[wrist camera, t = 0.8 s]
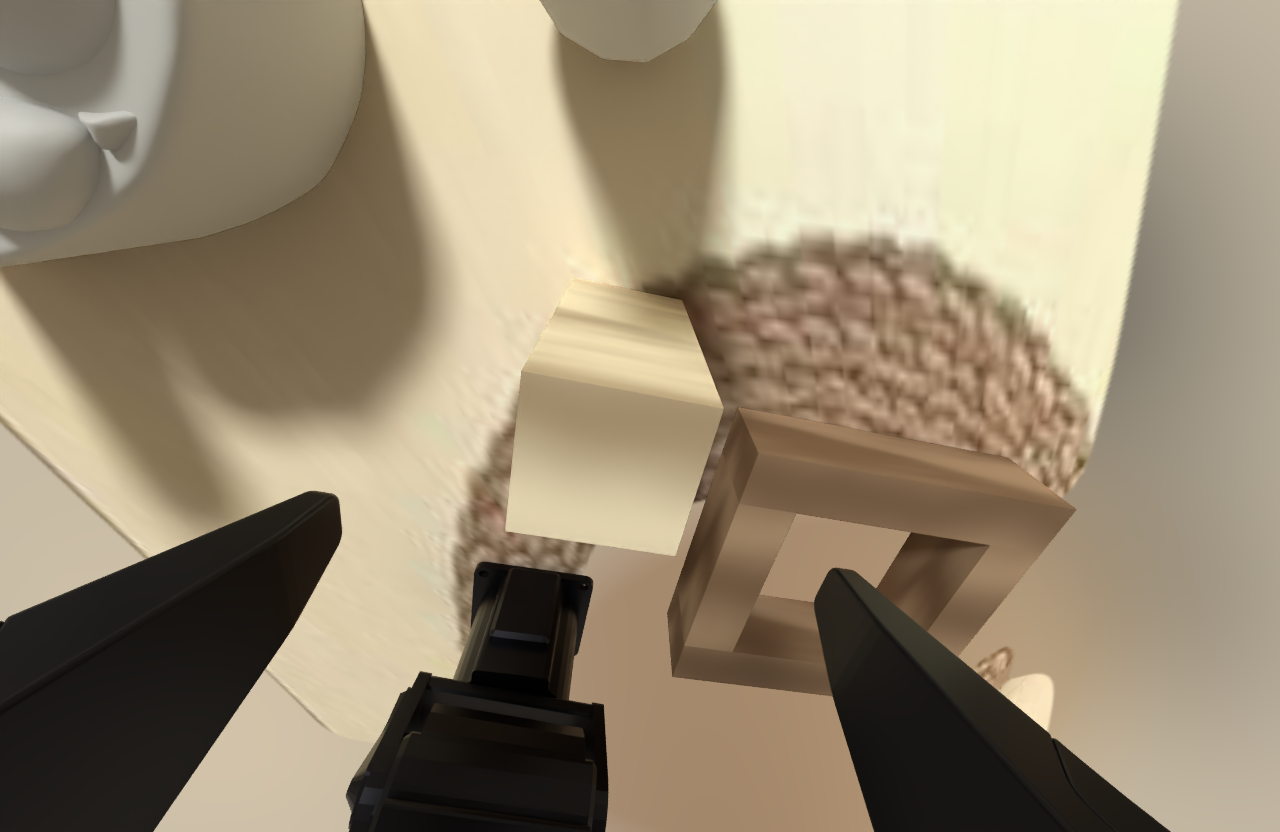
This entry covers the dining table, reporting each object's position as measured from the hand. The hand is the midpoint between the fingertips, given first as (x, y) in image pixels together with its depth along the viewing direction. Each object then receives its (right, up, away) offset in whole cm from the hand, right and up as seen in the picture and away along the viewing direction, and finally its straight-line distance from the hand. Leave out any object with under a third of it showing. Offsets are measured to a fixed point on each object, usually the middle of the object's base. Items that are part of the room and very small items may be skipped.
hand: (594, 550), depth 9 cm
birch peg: (0, +6, +12) cm, 13 cm away
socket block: (+11, -4, +17) cm, 21 cm away
